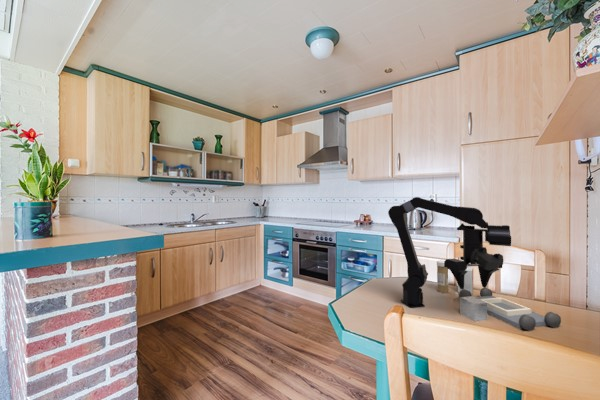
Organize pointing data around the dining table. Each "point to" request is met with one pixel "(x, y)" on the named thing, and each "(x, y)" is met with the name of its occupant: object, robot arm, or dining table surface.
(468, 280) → the small box
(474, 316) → the block
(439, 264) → the sprinkles bottle
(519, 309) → the chassis
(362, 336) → the dining table surface
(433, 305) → the dining table surface
